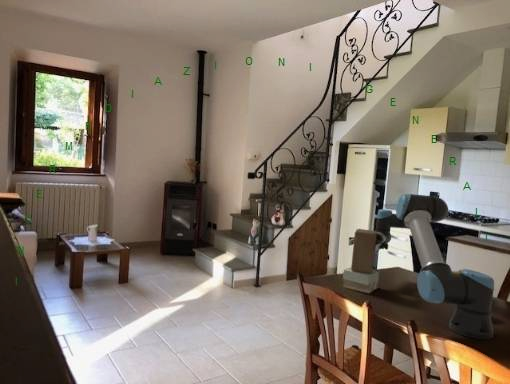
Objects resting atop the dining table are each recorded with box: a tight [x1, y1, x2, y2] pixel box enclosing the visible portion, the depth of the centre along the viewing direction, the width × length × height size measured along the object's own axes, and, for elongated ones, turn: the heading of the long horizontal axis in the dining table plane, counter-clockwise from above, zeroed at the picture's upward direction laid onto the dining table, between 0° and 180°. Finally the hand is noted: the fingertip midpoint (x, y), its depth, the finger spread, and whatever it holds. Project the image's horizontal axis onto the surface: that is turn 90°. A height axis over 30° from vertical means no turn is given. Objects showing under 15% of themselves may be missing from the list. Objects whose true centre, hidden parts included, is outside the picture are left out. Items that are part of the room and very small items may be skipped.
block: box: [350, 228, 377, 274], centre depth 205 cm, size 10×10×20 cm
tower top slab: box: [342, 266, 380, 285], centre depth 206 cm, size 13×13×4 cm
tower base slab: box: [342, 279, 379, 294], centre depth 206 cm, size 13×13×4 cm
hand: (362, 245), depth 202 cm, fingers open, 13 cm apart
